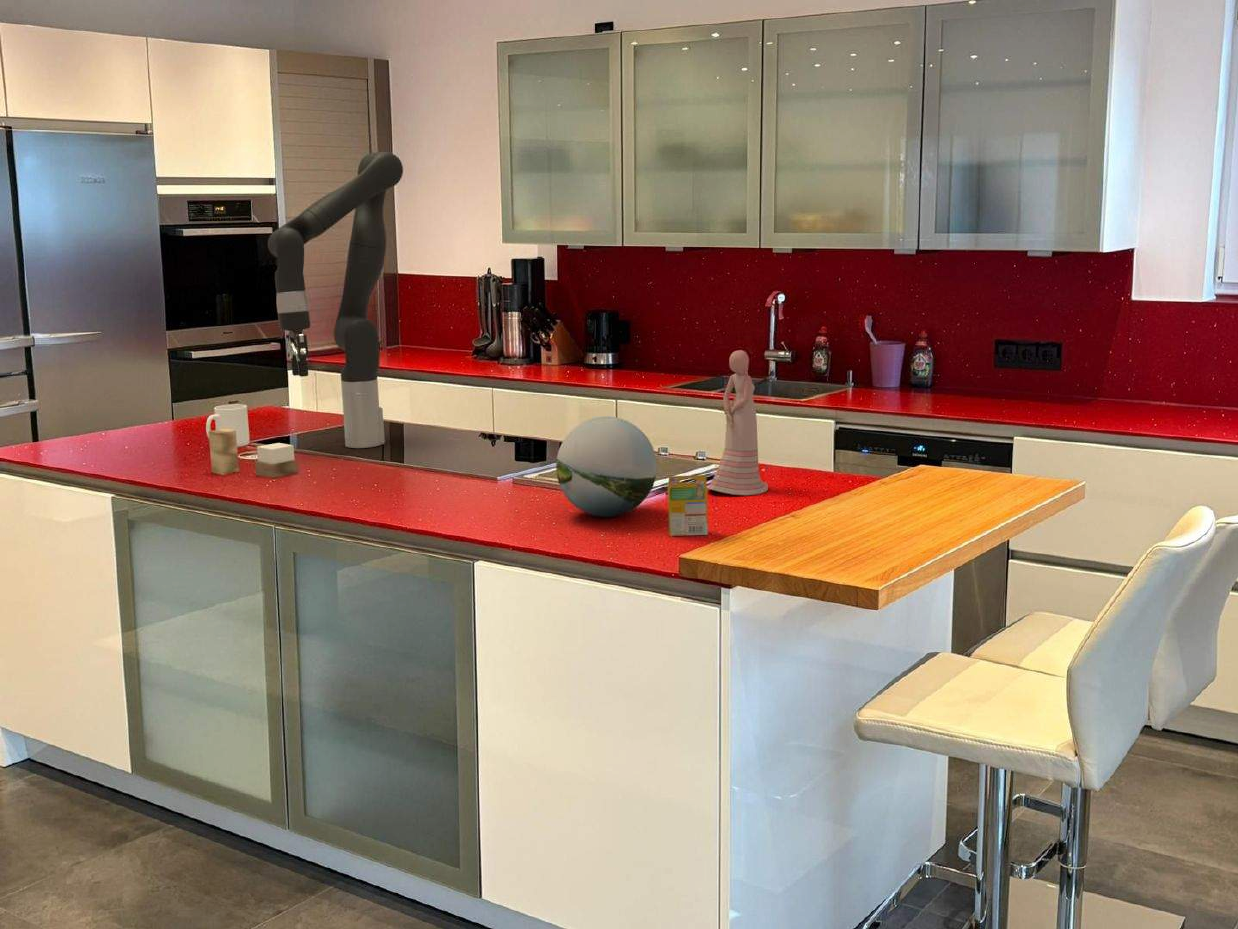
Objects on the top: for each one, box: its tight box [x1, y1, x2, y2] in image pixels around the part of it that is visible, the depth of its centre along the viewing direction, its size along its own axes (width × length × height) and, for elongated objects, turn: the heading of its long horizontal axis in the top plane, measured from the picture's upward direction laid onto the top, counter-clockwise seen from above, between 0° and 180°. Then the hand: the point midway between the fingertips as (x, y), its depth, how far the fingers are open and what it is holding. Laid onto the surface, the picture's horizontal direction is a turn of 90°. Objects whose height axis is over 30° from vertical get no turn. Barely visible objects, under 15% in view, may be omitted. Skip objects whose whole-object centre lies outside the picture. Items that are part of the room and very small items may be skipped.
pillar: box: [208, 429, 240, 476], centre depth 322 cm, size 4×4×10 cm
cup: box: [205, 403, 251, 448], centre depth 355 cm, size 8×12×10 cm
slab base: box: [254, 458, 299, 479], centre depth 319 cm, size 7×7×4 cm
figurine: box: [707, 349, 769, 496], centre depth 287 cm, size 13×13×30 cm
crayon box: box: [667, 474, 709, 538], centre depth 254 cm, size 7×3×12 cm, turn 92°
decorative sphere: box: [555, 416, 658, 518], centre depth 269 cm, size 20×20×20 cm
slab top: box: [256, 442, 295, 464], centre depth 318 cm, size 6×6×4 cm
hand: (300, 375), depth 336 cm, fingers open, 8 cm apart
